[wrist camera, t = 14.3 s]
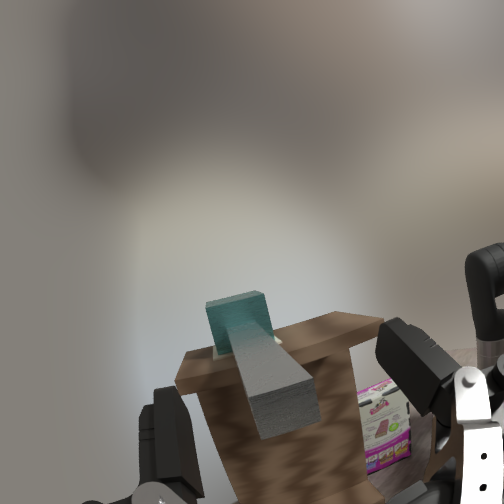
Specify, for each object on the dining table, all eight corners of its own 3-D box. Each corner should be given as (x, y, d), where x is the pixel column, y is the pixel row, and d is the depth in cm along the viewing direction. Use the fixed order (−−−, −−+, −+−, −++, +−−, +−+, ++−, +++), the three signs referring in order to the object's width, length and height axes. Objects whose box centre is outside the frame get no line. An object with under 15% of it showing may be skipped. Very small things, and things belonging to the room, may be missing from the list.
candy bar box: (400, 444, 41) (394, 374, 42) (412, 455, 36) (409, 382, 38) (347, 466, 40) (336, 398, 42) (356, 480, 35) (346, 409, 37)
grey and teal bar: (264, 329, 35) (254, 290, 35) (349, 409, 12) (333, 316, 12) (216, 341, 34) (206, 302, 34) (230, 447, 11) (199, 353, 11)
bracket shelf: (363, 481, 34) (334, 309, 37) (397, 517, 23) (383, 316, 26) (249, 519, 31) (185, 350, 34) (260, 567, 19) (173, 378, 22)
